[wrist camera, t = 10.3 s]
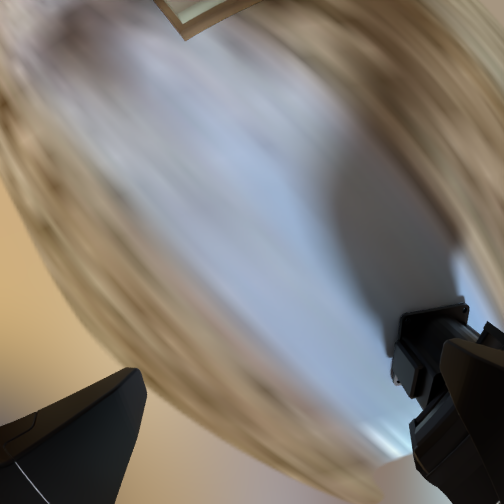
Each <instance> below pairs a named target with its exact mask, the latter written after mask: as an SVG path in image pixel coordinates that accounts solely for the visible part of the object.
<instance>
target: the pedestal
mask: <svg viewBox="0 0 504 504" xmlns="http://www.w3.org/2000/svg"><path fill="white" fill-rule="evenodd" d="M153 1H154V2H155V3H156V5H157V6H158V7H159V8H160V10H161V11H162V12H163V13H164V15H165V16H166V17H167V18H168V20H169V21H170V22H171V24H172V25H173V26H174V27H175V29H176V30H177V31H178V33H179V34H180V35H181V36H182V38H183V39H184V40H185V41H187V40H188V39H190V38H192V37H193V36H195V35H197V34H198V33H200V32H202V31H203V30H205V29H207V28H209V27H211V26H212V25H214V24H216V23H218V22H220V21H222V20H223V19H225V18H227V17H229V16H231V15H233V14H235V13H237V12H239V11H241V10H243V9H245V8H247V7H249V6H252V5H254V4H256V3H258V2H260V1H263V0H153Z"/></svg>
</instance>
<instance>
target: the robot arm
mask: <svg viewBox="0 0 504 504" xmlns="http://www.w3.org/2000/svg"><path fill="white" fill-rule="evenodd" d="M464 308H465V309H464ZM463 309H464V311H463ZM468 315H469V306H468V305H467V304H466V303H460V304H455V305H450V306H445V307H439V308H434V309H428V310H422V311H416V312H410V313H405V314H403V315H402V316H401V318H400V325H399V335H398V340H397V342H396V343H395V350H394V358H393V365H392V370H393V371H394V373H393V383H394V384H395V385H396V386H399V385H402V386H403V388H404V389H405V391H406V393H407V394H408V396H409V397H410V398H411V399H413V398H416V399H417V401H418V403H419V404H420V406H421V408H422V409H423V411H422V412H421V413H420V414H419V416H418V417H417V418H416V419H413V420H412V421H411V422H410V424H409V429H410V435H411V442H412V449H413V457H414V462H415V466H416V469H417V470H418V471H419V472H420V473H421V475H422V476H423V477H424V478H425V479H426V480H427V481H429V483H431V484H432V485H434V486H436V487H438V488H439V489H440V490H441V491H442V492H443V493H444V494H445V495H446V496H447V497H448V499H449V500H450V501H451V502H452V504H504V333H503V332H502V331H500V330H499V329H498V328H496V327H495V326H493V325H492V324H491V323H489V322H488V321H487V323H486V324H485V326H484V327H483V328H484V330H483V332H482V333H481V335H480V334H479V333H478V332H476V331H475V330H474V329H473V328H471V327H470V326H469V325H468V324H467V321H468ZM407 318H409V320H408V321H407V322H405V320H406V319H407ZM397 380H398V381H397ZM146 399H147V390H146V387H145V384H144V381H143V377H142V374H141V372H140V370H139V369H138V368H129V367H126V368H124V369H122V370H120V371H118V372H116V373H114V374H112V375H110V376H108V377H106V378H104V379H102V380H100V381H98V382H96V383H94V384H92V385H90V386H88V387H86V388H84V389H82V390H80V391H78V392H76V393H74V394H72V395H70V396H68V397H66V398H63V399H61V400H59V401H57V402H55V403H53V404H51V405H49V406H47V407H45V408H42V409H41V410H38V411H37V412H34V413H32V414H29V415H27V416H25V417H23V418H20V419H18V420H16V421H14V422H11V423H8V424H5V425H3V426H0V504H115V501H116V498H117V495H118V492H119V489H120V486H121V483H122V480H123V477H124V474H125V471H126V468H127V465H128V463H129V460H130V457H131V454H132V452H133V449H134V446H135V443H136V440H137V437H138V433H139V429H140V425H141V420H142V416H143V412H144V407H145V403H146Z"/></svg>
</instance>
